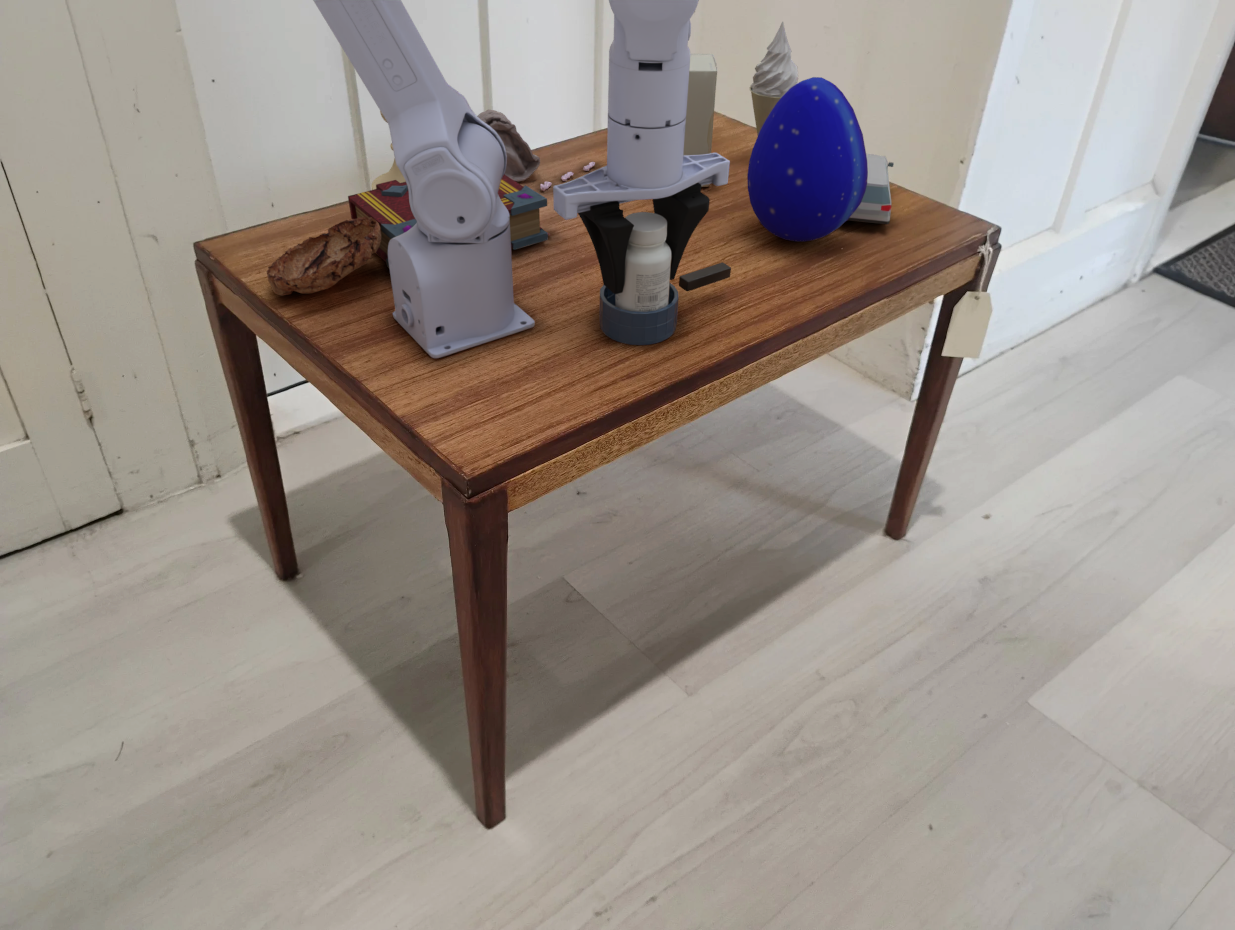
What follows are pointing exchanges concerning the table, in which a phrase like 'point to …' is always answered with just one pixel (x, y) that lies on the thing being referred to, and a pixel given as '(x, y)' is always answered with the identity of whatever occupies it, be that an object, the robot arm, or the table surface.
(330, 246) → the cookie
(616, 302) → the pill bottle
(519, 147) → the dental mold
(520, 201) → the decorative book
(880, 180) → the toy car
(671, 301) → the dark grey open cylinder
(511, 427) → the table surface
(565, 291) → the table surface
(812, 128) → the ornament
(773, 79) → the ice cream cone
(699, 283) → the dark grey rectangular bar
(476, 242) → the robot arm
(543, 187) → the pink molecule models
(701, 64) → the cosmetic box
